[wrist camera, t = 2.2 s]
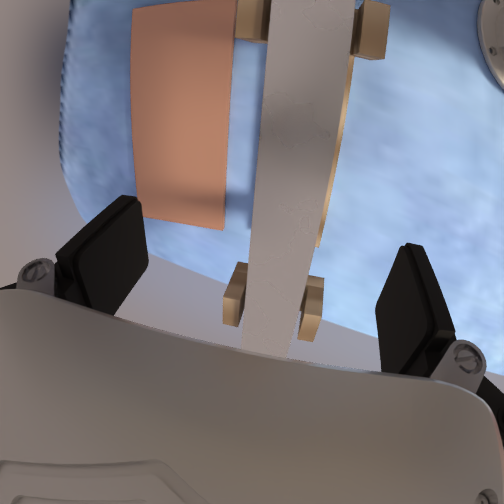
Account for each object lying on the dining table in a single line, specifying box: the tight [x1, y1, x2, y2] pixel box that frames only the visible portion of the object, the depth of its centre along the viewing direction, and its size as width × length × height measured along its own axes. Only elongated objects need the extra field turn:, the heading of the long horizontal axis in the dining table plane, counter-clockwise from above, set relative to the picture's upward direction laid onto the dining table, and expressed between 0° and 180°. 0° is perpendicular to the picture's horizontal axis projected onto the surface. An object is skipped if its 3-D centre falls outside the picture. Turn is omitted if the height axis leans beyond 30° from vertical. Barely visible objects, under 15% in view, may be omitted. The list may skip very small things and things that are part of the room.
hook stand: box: [223, 0, 391, 342], centre depth 19 cm, size 22×6×14 cm, turn 176°
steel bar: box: [241, 0, 355, 358], centre depth 14 cm, size 22×3×3 cm, turn 176°
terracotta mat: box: [130, 0, 237, 231], centre depth 26 cm, size 23×10×1 cm, turn 176°
